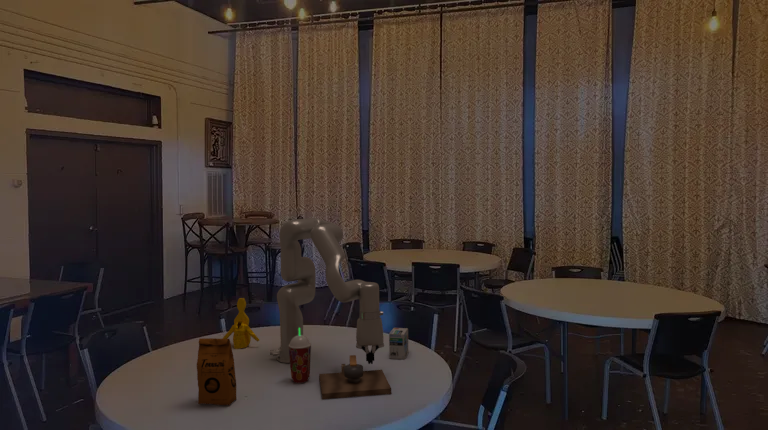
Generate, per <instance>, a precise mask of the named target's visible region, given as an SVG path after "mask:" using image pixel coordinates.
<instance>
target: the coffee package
mask: <svg viewBox="0 0 768 430" xmlns="http://www.w3.org/2000/svg"><path fill="white" fill-rule="evenodd" d="M196 360H197V361H196V377H197V378H196V379H197V388H198V393H197V394H198V399H197V404H198V405H203V404H204V405H214V406H231V405H230V404H233V403H234V400H235V401H236V400H237V379H236V378H237V377H236V367H235V359H234V355H233V349H232V343H231V340H230V338H227V339H222V338H215V337H214V338H210V337H209V338H203V337H202V338H199V339H198V351H197V359H196ZM232 402H233V403H232Z"/></svg>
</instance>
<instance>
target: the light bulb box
mask: <svg viewBox="0 0 768 430" xmlns="http://www.w3.org/2000/svg"><path fill="white" fill-rule="evenodd" d="M388 339H389V340H388V341H389V343H388V344H389V346H388V347H389V359H391V360H405V359H406V358H407V356H408V354H409V328H407V327H406V328H405V327H404V328H403V327H393V328H392V330H390V332H388Z"/></svg>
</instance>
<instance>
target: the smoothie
mask: <svg viewBox="0 0 768 430" xmlns="http://www.w3.org/2000/svg"><path fill="white" fill-rule="evenodd" d="M288 346H289V356H290V363H289V366H290V367H289V368H290V378H291V379H292V382H294V383H295V384H303V383H306V382H308V381H309V378H310V377H311V374H310V373H311V355H312V354H311V351H312V343H311V342H310V339H309V338H308V337H307V336H306V335H305V334H303V335H300V328H299V335H297V336H295V337H293V338H292V340H291V341H290V344H289V345H288Z"/></svg>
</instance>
